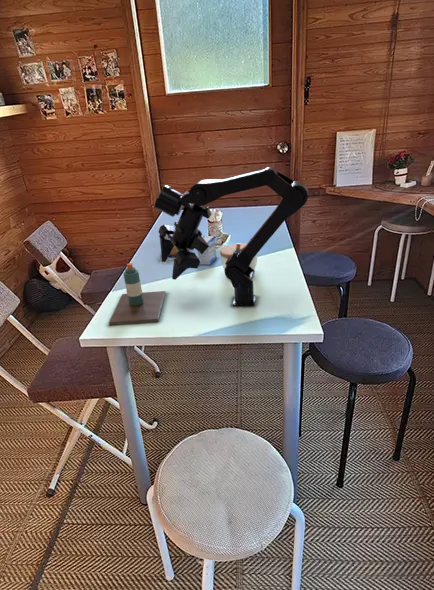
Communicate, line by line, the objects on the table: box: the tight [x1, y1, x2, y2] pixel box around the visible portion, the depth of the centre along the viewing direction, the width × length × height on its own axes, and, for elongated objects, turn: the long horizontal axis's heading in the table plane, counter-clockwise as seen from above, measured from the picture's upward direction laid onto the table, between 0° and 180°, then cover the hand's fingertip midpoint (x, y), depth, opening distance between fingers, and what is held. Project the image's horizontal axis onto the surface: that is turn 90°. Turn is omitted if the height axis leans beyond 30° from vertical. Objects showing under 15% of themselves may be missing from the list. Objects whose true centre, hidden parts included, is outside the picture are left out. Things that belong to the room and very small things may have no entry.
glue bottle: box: [123, 262, 144, 306], centre depth 131 cm, size 4×4×12 cm
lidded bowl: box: [219, 242, 258, 271], centre depth 148 cm, size 13×13×11 cm
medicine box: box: [196, 235, 217, 266], centre depth 163 cm, size 8×4×9 cm, turn 161°
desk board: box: [108, 290, 167, 326], centre depth 132 cm, size 20×14×1 cm
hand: (168, 270), depth 130 cm, fingers open, 9 cm apart
